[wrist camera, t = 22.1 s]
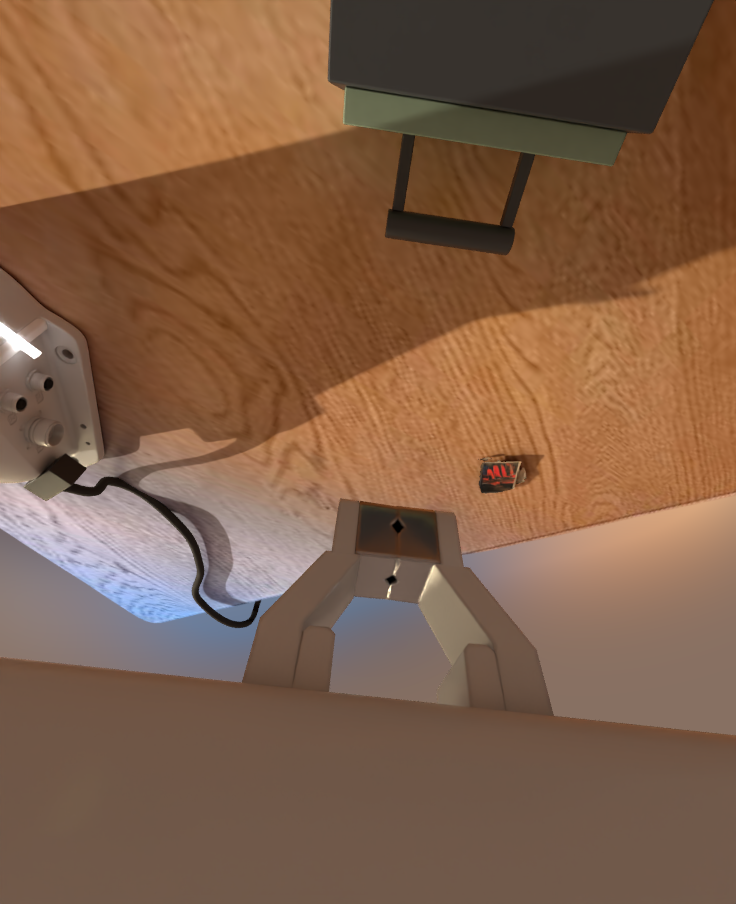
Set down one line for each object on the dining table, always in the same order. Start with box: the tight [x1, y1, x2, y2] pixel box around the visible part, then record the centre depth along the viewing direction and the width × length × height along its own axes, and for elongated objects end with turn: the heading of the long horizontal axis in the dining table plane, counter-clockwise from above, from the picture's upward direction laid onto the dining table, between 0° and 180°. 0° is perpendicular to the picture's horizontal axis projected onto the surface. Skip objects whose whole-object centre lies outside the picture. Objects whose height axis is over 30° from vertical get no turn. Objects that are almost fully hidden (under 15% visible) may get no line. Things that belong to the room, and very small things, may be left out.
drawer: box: [343, 86, 627, 255], centre depth 17 cm, size 18×12×7 cm, turn 173°
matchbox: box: [478, 457, 526, 493], centre depth 40 cm, size 5×5×1 cm
